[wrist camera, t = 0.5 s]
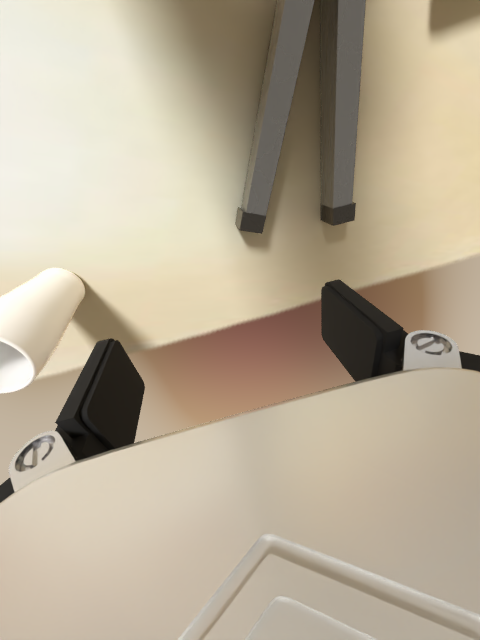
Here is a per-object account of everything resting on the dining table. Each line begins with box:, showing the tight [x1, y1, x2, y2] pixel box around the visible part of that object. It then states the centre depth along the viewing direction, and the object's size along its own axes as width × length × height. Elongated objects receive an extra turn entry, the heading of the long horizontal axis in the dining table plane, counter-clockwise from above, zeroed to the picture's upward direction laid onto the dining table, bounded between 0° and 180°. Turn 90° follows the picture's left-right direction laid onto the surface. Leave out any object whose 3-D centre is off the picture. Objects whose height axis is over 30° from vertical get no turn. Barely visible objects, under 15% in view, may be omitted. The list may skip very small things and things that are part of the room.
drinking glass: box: [0, 268, 85, 393], centre depth 26 cm, size 7×7×15 cm
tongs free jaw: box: [235, 0, 314, 233], centre depth 25 cm, size 22×3×3 cm, turn 169°
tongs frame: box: [320, 0, 366, 226], centre depth 23 cm, size 29×6×3 cm, turn 11°
